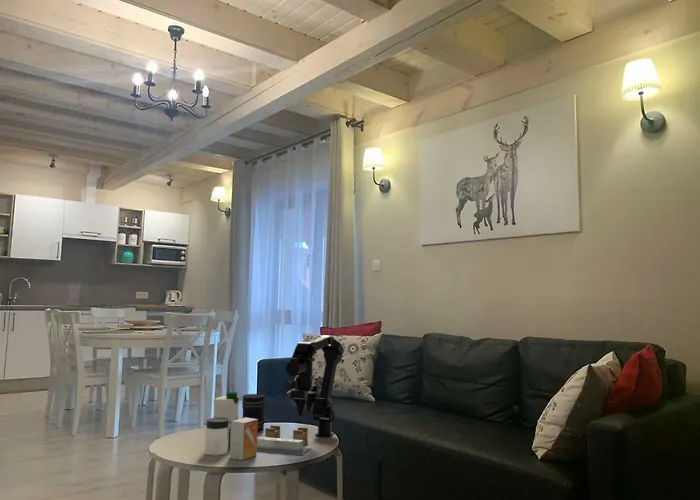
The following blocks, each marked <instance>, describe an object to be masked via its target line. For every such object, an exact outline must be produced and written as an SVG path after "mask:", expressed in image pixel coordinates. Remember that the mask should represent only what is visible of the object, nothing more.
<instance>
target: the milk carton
mask: <svg viewBox="0 0 700 500" xmlns="http://www.w3.org/2000/svg"><path fill="white" fill-rule="evenodd" d="M239 404H240V396H238V393H237V392H235V391H228V392H226V396H225V395H223V396H218V397H217V398H214V399H213V409H214V410H213V418H219V417H221V418H228V419H229V441H228V448H230V437H231V421H234V420H237V419H239Z"/></svg>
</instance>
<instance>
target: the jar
mask: <svg viewBox="0 0 700 500" xmlns="http://www.w3.org/2000/svg"><path fill="white" fill-rule="evenodd" d="M204 438H205V439H204V441H205V442H204V443H205V444H204V455H208V456H212V457H213V456H214V457H215V456H223V455H226V454H227V453H228V452H229V447H228V441H229V419H228V418H221V417H219V418H214V417H211V418H207V419H206V426H205V437H204Z"/></svg>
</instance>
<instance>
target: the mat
mask: <svg viewBox="0 0 700 500" xmlns="http://www.w3.org/2000/svg"><path fill="white" fill-rule="evenodd" d="M310 450H312V449H311V447H303V450H302V451H301V452H294V451H282V450H270V449H258V448H257V453H267V454H268V453H269V454H281V455H289V454H292V456H301V455H302V456H304V455H305V454H306V453H308V452H309V451H310ZM307 451H308V452H307ZM303 454H304V455H303Z"/></svg>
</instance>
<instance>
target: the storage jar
mask: <svg viewBox="0 0 700 500" xmlns="http://www.w3.org/2000/svg"><path fill="white" fill-rule="evenodd" d="M265 397H266V396H265V394H262V393H248V394H244V395H242V404H241V405H242V406H241V407H242V418H245V417H246V418H253V419H258V431H257V433H262V432H264V431H265V429H264V427H265V426H264V425H265V416H264V415H265V414H264V413H265V407H266V406H265V403H266V401H265Z"/></svg>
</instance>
